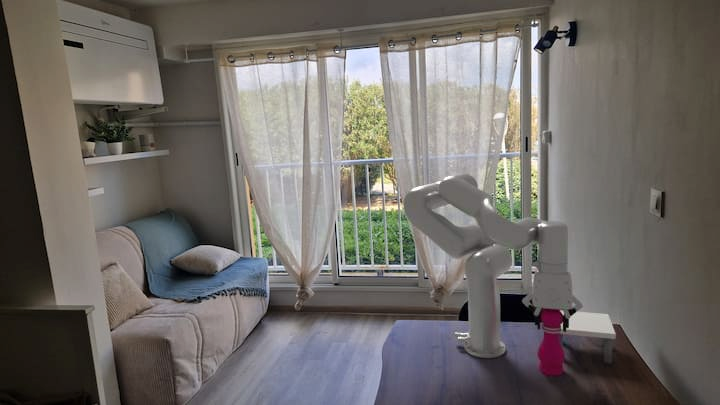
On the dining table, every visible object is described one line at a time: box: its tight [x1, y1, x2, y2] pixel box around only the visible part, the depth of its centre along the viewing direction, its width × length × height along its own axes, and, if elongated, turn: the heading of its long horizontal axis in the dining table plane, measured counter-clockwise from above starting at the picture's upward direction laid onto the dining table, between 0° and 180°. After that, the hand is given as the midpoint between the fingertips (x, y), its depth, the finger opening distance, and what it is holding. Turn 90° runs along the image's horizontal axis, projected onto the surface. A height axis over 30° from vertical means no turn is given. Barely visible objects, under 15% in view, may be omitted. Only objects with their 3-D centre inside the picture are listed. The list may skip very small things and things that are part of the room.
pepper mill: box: [536, 308, 566, 377], centre depth 129 cm, size 7×7×20 cm
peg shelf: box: [559, 310, 617, 365], centre depth 139 cm, size 16×14×10 cm
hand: (551, 328), depth 128 cm, fingers closed on pepper mill, 6 cm apart
